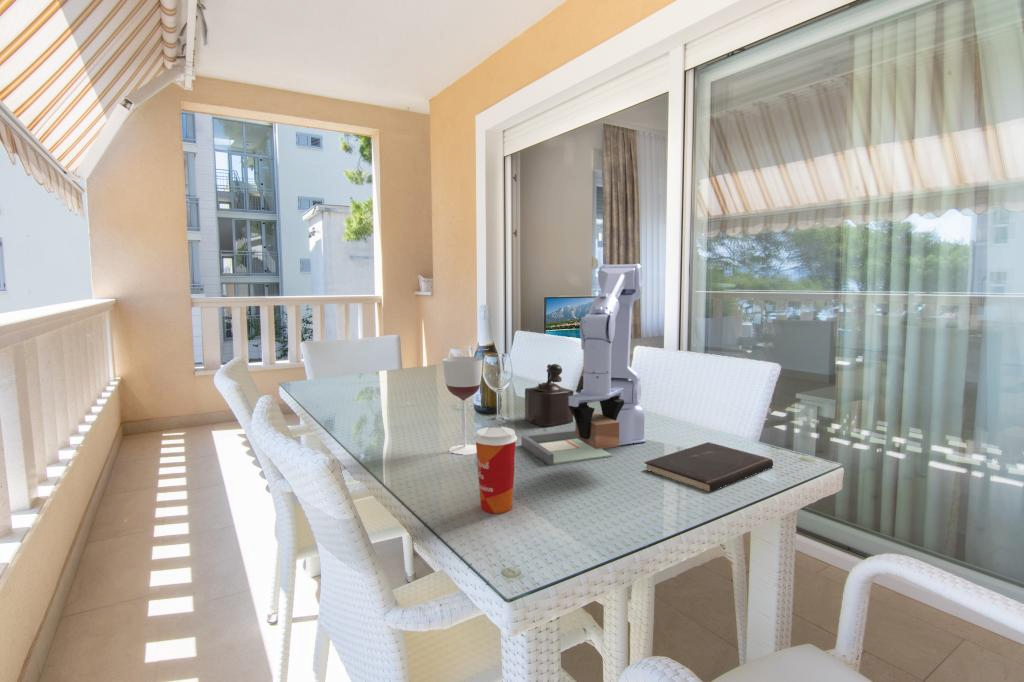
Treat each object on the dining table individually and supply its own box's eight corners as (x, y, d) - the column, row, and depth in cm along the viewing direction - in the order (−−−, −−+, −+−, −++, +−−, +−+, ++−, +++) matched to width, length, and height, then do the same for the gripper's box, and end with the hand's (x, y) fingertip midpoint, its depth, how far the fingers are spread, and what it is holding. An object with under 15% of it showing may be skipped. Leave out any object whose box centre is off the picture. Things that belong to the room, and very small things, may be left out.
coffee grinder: (521, 420, 161) (521, 358, 159) (553, 415, 166) (552, 355, 164) (553, 432, 148) (552, 365, 146) (585, 426, 153) (585, 362, 151)
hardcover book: (644, 472, 118) (644, 461, 118) (707, 451, 132) (708, 442, 132) (710, 495, 106) (710, 483, 105) (773, 469, 119) (773, 459, 119)
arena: (579, 437, 142) (579, 428, 142) (611, 456, 127) (612, 446, 127) (521, 445, 136) (521, 435, 136) (548, 465, 122) (548, 454, 121)
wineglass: (469, 457, 127) (468, 363, 125) (437, 451, 132) (435, 360, 130) (491, 447, 135) (489, 358, 132) (459, 442, 140) (457, 355, 137)
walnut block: (575, 437, 120) (575, 414, 120) (597, 434, 122) (597, 412, 122) (595, 449, 112) (596, 425, 112) (619, 446, 114) (619, 422, 113)
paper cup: (474, 499, 103) (473, 426, 101) (515, 498, 104) (515, 425, 102) (475, 517, 95) (474, 438, 94) (520, 515, 96) (519, 437, 94)
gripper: (606, 365, 123) (606, 425, 125) (558, 372, 114) (558, 437, 116) (631, 369, 117) (630, 431, 119) (582, 377, 109) (582, 444, 110)
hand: (596, 434), depth 117 cm, fingers closed on walnut block, 7 cm apart
